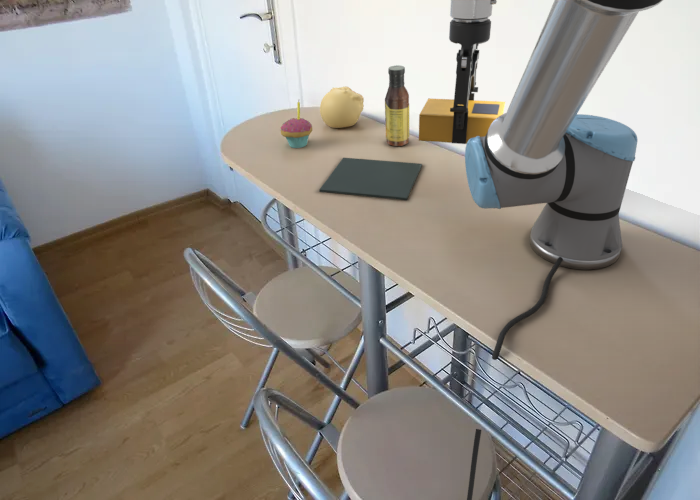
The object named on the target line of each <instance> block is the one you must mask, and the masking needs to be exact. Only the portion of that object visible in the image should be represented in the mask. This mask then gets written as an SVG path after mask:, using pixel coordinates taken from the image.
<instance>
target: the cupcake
mask: <svg viewBox="0 0 700 500" xmlns="http://www.w3.org/2000/svg"><path fill="white" fill-rule="evenodd" d="M297 100H298V102H297V103H296V104H297V109H296V110H297V112H296V113H297V118H295V117H293V118H290V119H288V120H287V121H284V122H282V125H281V126H280V135H281V136H282V137H283V138H285V140H286V141H287V143H288V145H289V147H290V148H293V149H302V148H304V147H306V146H307V145H308V141H309V137H310V135H311V133H312V132H313V124H312V123H311V122H310V121H309V120H308V119H305V118H304V117H303V118H301V102H300V99H297Z"/></svg>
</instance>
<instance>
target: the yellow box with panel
mask: <svg viewBox="0 0 700 500" xmlns="http://www.w3.org/2000/svg"><path fill="white" fill-rule="evenodd" d="M453 105H454V98H453V99H452V98H449V99H448V98H428V99H427V100H426V102H425V104H424V105H423V107H422V109H421V111H420V112H419V114H418V115H419V116H418V141H419V142H434V143H435V142H436V143H451V144H453V143H452V133H453V117H454V112H450V108H453ZM459 106H464V105H459ZM505 107H506V101H497V100H495V101H494V100H475V99H474V100H469V101H468V124H467V136H466V144H467V142H468V140H469V139H471V138H474V137H476V136H480V137H484V136H486V134H487V132H488V129H489V127H490V125H491V124H492V122H493V121H494V120H495V119H496V118H498V117H499V116H500V115H502V114H505V113H504V112H505ZM466 144H465V145H466Z"/></svg>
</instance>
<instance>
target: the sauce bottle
mask: <svg viewBox="0 0 700 500" xmlns="http://www.w3.org/2000/svg"><path fill="white" fill-rule="evenodd" d="M387 71H388V75H389V76H388V79H389V80H388V87H387V91H386V94H385V98H384V117H385V118H384V120H385V123H384V125H385V140H386V143H387V145H390V146H391V147H403V146H406V145H408V144H409V141H410V93H409V92H408V89H407V88H406V87H405V73H406V67H405V66H403V65H399V64H398V65H397V64H396V65H390V66H388V70H387Z"/></svg>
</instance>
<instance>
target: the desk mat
mask: <svg viewBox="0 0 700 500" xmlns="http://www.w3.org/2000/svg"><path fill="white" fill-rule="evenodd" d="M422 167H423V163H417V162H404V161H391V160H379V159H367V158H366V159H365V158H356V157H355V158H352V157H342V159H341V160H340V161H339V162H338V164H337V165H336V166H335V168H333V169H334V170H332V171H331V173H330V174H329V176H328V177H327V179H326V180H325V181H324V183H323V184H322V185H321V187H320V188H319V189H318V190H319V192H320V193H328V194H329V193H330V194H338V195H339V194H340V195H348V196H349V195H350V196H360V197H371V198H378V199H379V198H380V199H389V200H390V199H391V200H401V201H407V200H408V199H409V195H410V194H411V193H412V192H411V191H412V189H413V187H414V185H415V182H416V181H417V178H418V176H419V174H420V171H421V169H422Z"/></svg>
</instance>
